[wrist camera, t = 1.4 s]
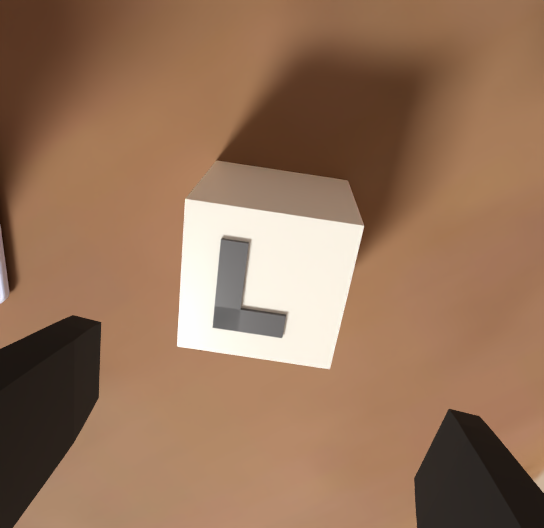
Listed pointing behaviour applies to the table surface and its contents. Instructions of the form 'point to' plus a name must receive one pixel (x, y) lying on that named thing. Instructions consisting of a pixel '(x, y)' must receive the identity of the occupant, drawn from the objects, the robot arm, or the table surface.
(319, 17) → the table surface
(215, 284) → the letter cube
